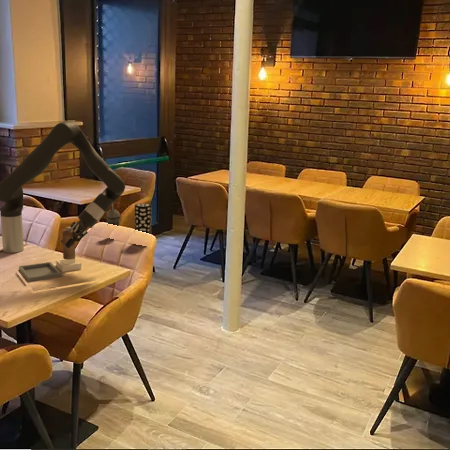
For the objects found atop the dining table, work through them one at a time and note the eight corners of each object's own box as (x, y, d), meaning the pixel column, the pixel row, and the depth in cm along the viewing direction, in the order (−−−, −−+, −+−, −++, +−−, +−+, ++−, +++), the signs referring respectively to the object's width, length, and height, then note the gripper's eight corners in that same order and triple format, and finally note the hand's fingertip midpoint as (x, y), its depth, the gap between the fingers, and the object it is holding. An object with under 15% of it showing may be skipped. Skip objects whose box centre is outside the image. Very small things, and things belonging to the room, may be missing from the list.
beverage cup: (121, 236, 275) (121, 199, 270) (119, 240, 268) (118, 202, 263) (107, 235, 275) (107, 199, 270) (105, 239, 268) (104, 202, 263)
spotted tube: (142, 246, 259) (142, 207, 254) (131, 242, 264) (131, 204, 259) (154, 242, 266) (154, 205, 261) (143, 239, 270) (143, 202, 265)
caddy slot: (56, 267, 223) (56, 259, 222) (74, 264, 227) (74, 257, 226) (62, 273, 216) (62, 266, 215) (81, 271, 220) (81, 263, 219)
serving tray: (19, 271, 216) (18, 266, 215) (50, 267, 223) (50, 261, 222) (28, 284, 203) (28, 278, 202) (61, 278, 210) (61, 272, 210)
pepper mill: (61, 256, 221) (60, 226, 218) (73, 255, 224) (72, 225, 221) (65, 260, 217) (64, 229, 214) (76, 258, 220) (76, 228, 217)
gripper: (79, 206, 225) (53, 235, 222) (91, 213, 214) (63, 244, 210) (91, 216, 229) (65, 245, 226) (103, 224, 218) (76, 254, 214)
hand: (64, 244), depth 218 cm, fingers closed on pepper mill, 5 cm apart
